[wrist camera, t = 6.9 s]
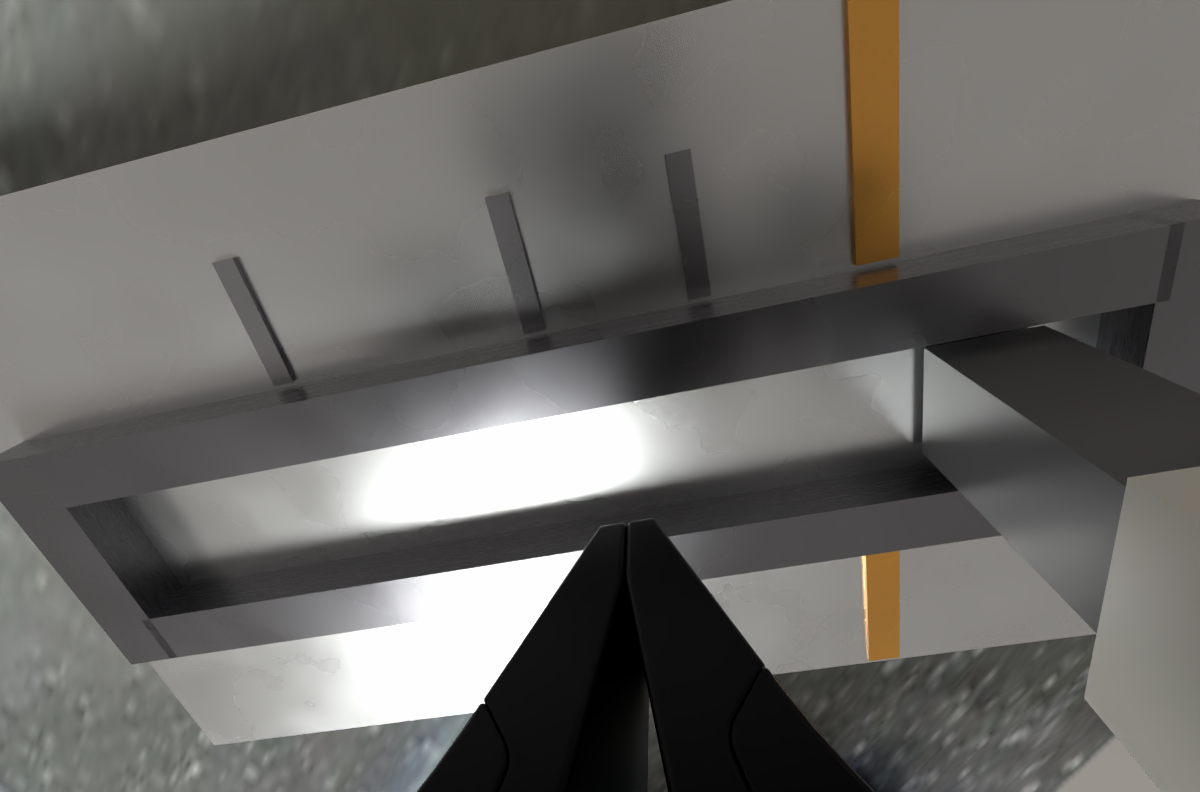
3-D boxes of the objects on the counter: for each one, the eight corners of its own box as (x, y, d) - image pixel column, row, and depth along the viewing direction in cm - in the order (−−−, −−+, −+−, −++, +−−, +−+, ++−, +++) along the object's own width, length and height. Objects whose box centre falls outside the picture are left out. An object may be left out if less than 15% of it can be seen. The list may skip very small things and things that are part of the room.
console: (1087, 566, 15) (1195, 663, 12) (256, 681, 17) (189, 783, 15) (1205, -105, 9) (1461, -211, 6) (-56, 227, 12) (-259, 255, 9)
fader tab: (1051, 453, 11) (1561, 823, 5) (900, 477, 11) (1212, 852, 5) (1072, 292, 9) (1793, 539, 4) (900, 325, 10) (1312, 602, 4)
